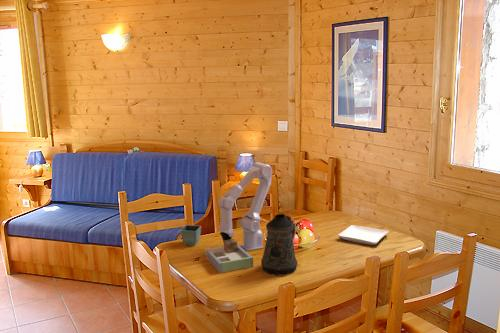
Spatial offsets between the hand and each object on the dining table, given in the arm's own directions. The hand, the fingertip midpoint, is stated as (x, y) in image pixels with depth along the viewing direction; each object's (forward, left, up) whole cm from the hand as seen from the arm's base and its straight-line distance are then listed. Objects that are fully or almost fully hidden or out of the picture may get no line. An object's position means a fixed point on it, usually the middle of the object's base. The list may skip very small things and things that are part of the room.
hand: (226, 246), depth 243 cm
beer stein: (-16, +27, -4) cm, 32 cm away
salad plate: (-74, +12, -4) cm, 75 cm away
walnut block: (0, +4, -1) cm, 4 cm away
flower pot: (+12, -20, -4) cm, 24 cm away
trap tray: (+3, +8, -3) cm, 10 cm away
